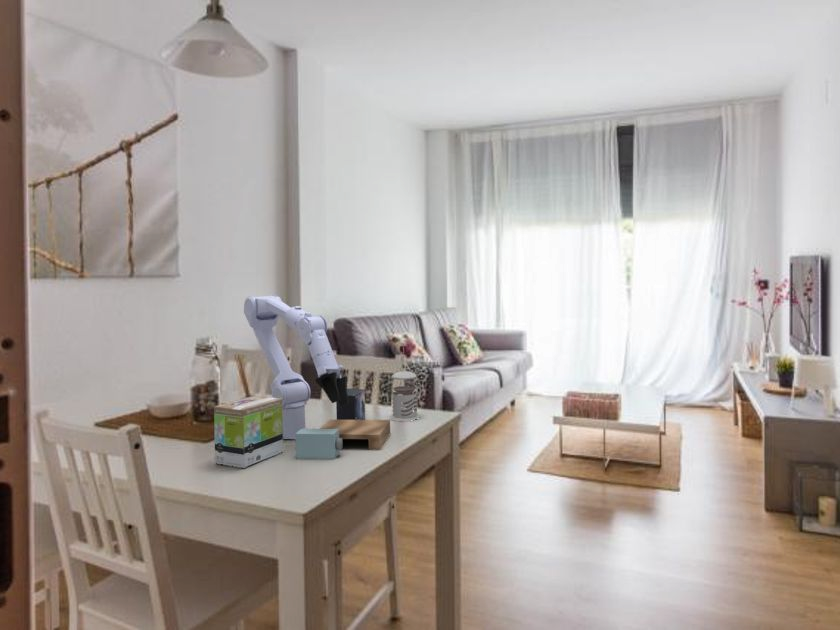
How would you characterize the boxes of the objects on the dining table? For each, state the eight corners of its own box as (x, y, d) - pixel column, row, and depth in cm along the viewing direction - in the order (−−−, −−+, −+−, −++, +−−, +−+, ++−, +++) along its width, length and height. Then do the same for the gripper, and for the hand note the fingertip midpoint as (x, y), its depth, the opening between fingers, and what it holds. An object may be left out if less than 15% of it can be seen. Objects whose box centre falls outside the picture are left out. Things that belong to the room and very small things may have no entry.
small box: (356, 429, 179) (355, 395, 178) (335, 428, 180) (334, 394, 179) (366, 420, 189) (365, 388, 188) (347, 420, 190) (346, 388, 190)
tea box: (245, 469, 143) (243, 409, 142) (214, 464, 147) (211, 406, 147) (284, 452, 157) (282, 397, 156) (255, 448, 161) (252, 394, 160)
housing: (296, 458, 151) (295, 433, 151) (302, 452, 156) (301, 428, 156) (339, 459, 150) (338, 434, 149) (343, 453, 155) (343, 429, 154)
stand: (314, 448, 159) (313, 433, 159) (330, 432, 175) (329, 419, 175) (379, 449, 157) (379, 434, 157) (390, 433, 173) (390, 420, 173)
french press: (383, 418, 192) (381, 341, 190) (409, 412, 200) (408, 338, 198) (404, 423, 185) (402, 343, 183) (430, 416, 193) (428, 340, 191)
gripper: (327, 345, 153) (345, 393, 149) (344, 355, 167) (361, 399, 163) (303, 356, 153) (320, 405, 149) (322, 365, 167) (338, 410, 163)
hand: (340, 403), depth 156 cm, fingers open, 7 cm apart
